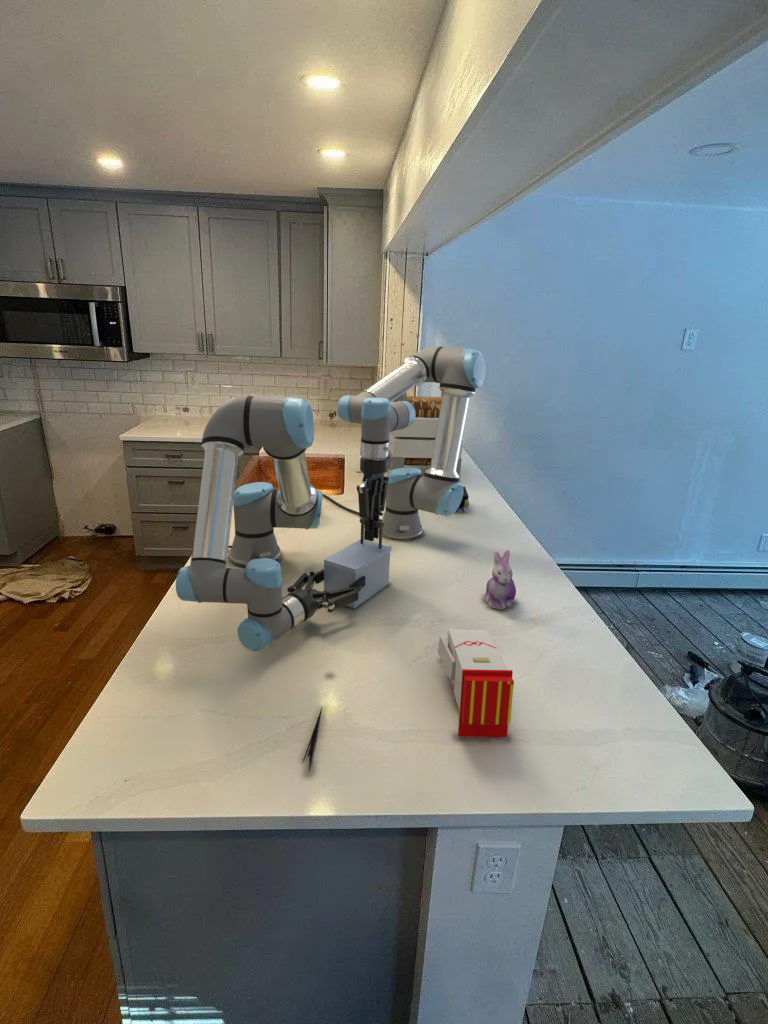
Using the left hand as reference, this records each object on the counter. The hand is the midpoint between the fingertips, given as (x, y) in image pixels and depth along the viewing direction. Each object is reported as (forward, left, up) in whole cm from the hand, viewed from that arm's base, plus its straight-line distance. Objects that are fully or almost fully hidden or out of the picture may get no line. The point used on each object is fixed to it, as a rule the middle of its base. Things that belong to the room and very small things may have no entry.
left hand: (347, 575), depth 152 cm
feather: (+23, -43, -7) cm, 49 cm away
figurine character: (-6, +88, -7) cm, 88 cm away
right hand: (0, +12, +7) cm, 14 cm away
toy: (+44, -19, -7) cm, 48 cm away
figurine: (+36, +22, -7) cm, 43 cm away
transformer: (-43, +123, -7) cm, 131 cm away
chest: (0, +5, -7) cm, 8 cm away
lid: (0, +5, +3) cm, 6 cm away
